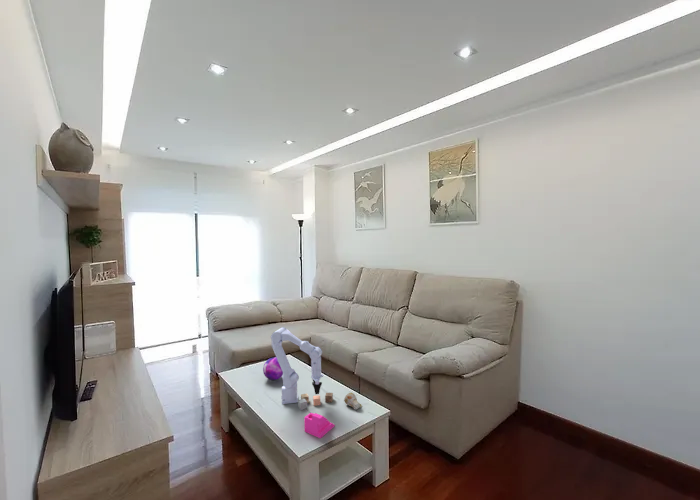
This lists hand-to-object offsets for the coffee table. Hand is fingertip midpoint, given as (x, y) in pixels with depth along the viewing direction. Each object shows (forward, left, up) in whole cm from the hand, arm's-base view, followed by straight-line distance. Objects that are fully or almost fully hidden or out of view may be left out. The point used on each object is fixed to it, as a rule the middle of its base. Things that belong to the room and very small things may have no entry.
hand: (316, 390), depth 191 cm
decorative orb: (-27, +38, -8) cm, 47 cm away
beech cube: (-7, +4, -8) cm, 11 cm away
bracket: (0, -25, -8) cm, 26 cm away
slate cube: (-9, -2, -8) cm, 12 cm away
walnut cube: (+7, +2, -8) cm, 11 cm away
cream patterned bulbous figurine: (+21, -7, -8) cm, 23 cm away
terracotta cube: (0, 0, -8) cm, 8 cm away
